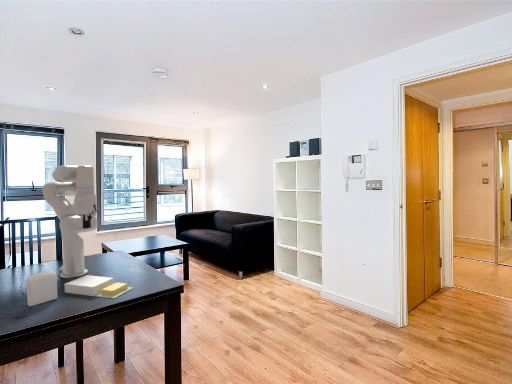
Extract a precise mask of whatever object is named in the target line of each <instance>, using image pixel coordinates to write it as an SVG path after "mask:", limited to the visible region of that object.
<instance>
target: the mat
mask: <svg viewBox="0 0 512 384" xmlns="http://www.w3.org/2000/svg"><path fill="white" fill-rule="evenodd" d="M133 289H134V287H132V286H127V288H126V289H124V290H122V291H120V292H119V293H117V294H115V295H105V294H102V292H100V293H98V294H96V295H94V296H93V297H95V298H96V297H98V298H105V299H114V300H115V299H116V298H118V297H120V296H123V295H124V294H126V293H127V292H129V291H131V290H133Z"/></svg>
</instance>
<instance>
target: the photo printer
mask: <svg viewBox="0 0 512 384" xmlns="http://www.w3.org/2000/svg"><path fill="white" fill-rule="evenodd" d="M57 281H58V280H57V274H56V272H55V271H50V270H49V271H41V272H38V273H35V274H32V275H30V276H28V277H27V278H26V296H27V297H26V299H27V306H28V307H33V306H36V305H40V304H42V303H46V302H49V301H54V300H57V299H58V298H59V297H58V282H57Z"/></svg>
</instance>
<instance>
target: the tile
mask: <svg viewBox="0 0 512 384" xmlns="http://www.w3.org/2000/svg"><path fill="white" fill-rule="evenodd" d="M127 287H128V283H124V282H114V284H112V285H110V286H108V287H106V288H104V289H102V290H101V292H102V294H105V295H115V294H117V293H119V292H120V291H122V290H124V289H126V288H127Z"/></svg>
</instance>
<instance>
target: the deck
mask: <svg viewBox="0 0 512 384" xmlns="http://www.w3.org/2000/svg"><path fill="white" fill-rule="evenodd" d="M112 284H115V278H114V277H111V276H110V277H108V276H97V275H91V274H87V275H86V274H85V275H82V276H80V277H77V278H76V279H74V280H71V281H69V282H66V283H64V293H67V294H74V295H81V296H90V297H95V296H94V295H96V294H98V293H100V292H101V290H102V289H104V288H106V287H108V286H110V285H112Z"/></svg>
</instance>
